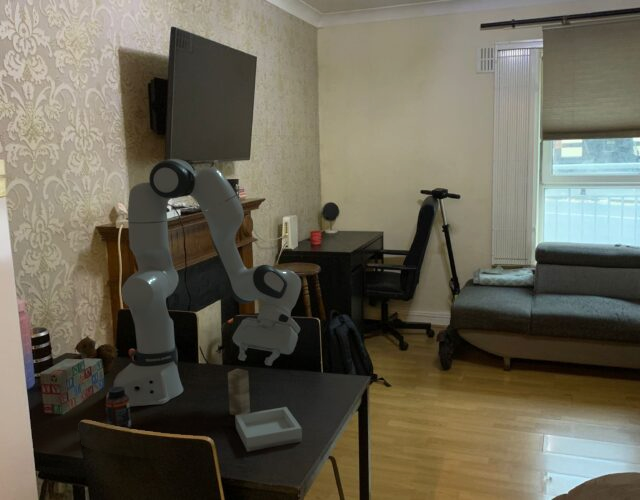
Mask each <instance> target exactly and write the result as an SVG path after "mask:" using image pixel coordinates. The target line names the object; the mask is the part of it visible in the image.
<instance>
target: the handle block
mask: <svg viewBox="0 0 640 500" xmlns="http://www.w3.org/2000/svg"><path fill="white" fill-rule="evenodd" d="M249 379H250V378H249V370H246V369H241V368H235V369H233V370H231V371H229V372H227V384H228V401H229V402H228V403H229V404H228V405H229V415H232V416H235V415H240V414H246V413H251V402H250V401H251V400H250V381H249Z"/></svg>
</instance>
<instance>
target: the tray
mask: <svg viewBox="0 0 640 500" xmlns="http://www.w3.org/2000/svg"><path fill="white" fill-rule="evenodd" d="M234 416H235V419H234V420H235V421H234V422H235V429H236V431H237V433H238V435H239V437H240V439H241V441H242V443H243V445H244V448H245V451H246V452H252V451H257V450H262V449H267V448H272V447H278V446H284V445H289V444H294V443H295V444H296V443H301V442H303V428H302V426H301V425H300V424H299V423H298V421H297V419H296V418H295V417H294V415H293V414H292V412H291V411H290V410H289V409H288V407H287V406H283V407H278V408H272V409H264V410H260V411H259V410H258V411H254V412H249V413H246V414H240V415H234Z"/></svg>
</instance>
